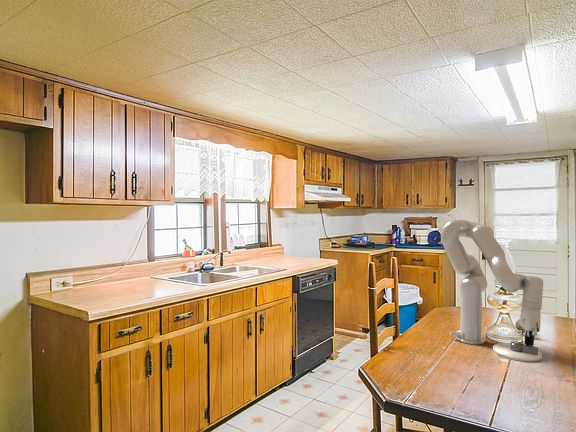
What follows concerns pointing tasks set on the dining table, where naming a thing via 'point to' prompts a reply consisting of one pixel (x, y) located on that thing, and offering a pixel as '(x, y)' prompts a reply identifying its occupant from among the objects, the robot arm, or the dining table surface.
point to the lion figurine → (519, 327)
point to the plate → (515, 353)
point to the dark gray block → (523, 348)
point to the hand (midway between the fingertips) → (528, 344)
